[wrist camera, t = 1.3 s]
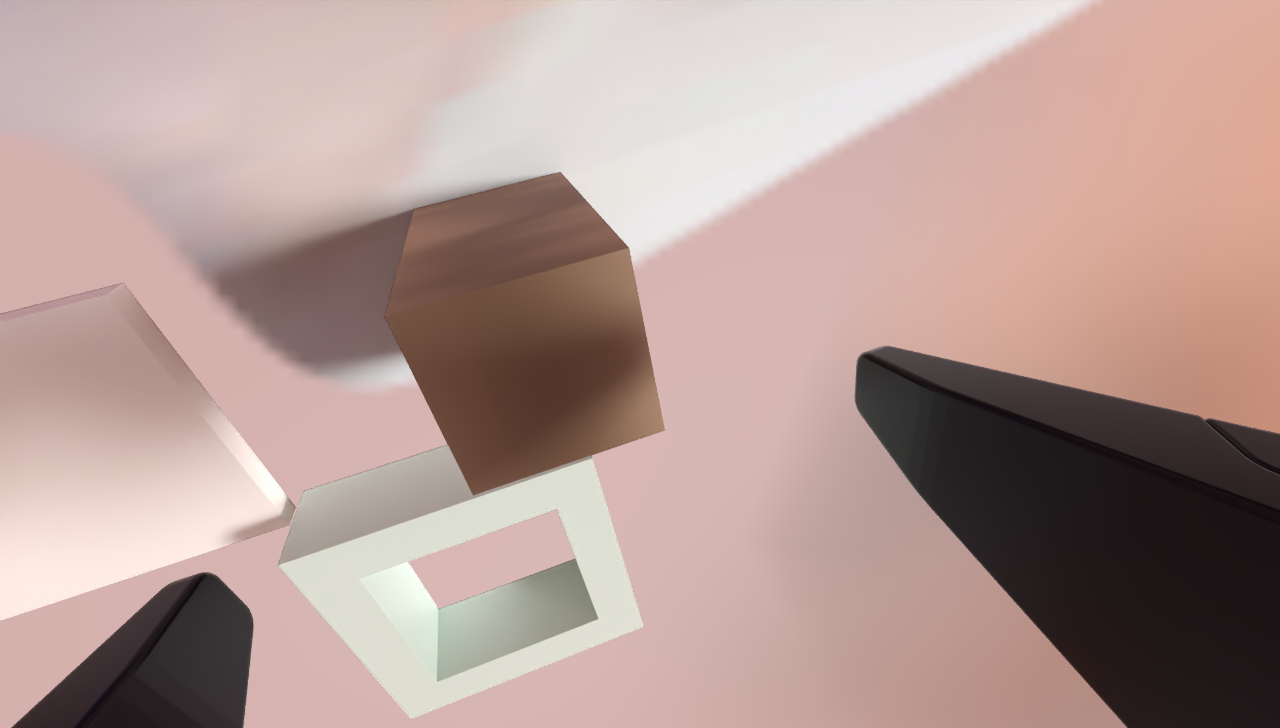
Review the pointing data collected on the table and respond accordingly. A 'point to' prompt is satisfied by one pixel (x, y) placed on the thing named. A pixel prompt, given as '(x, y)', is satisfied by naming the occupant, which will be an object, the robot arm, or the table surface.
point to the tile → (112, 453)
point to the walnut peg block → (523, 330)
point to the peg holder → (472, 628)
